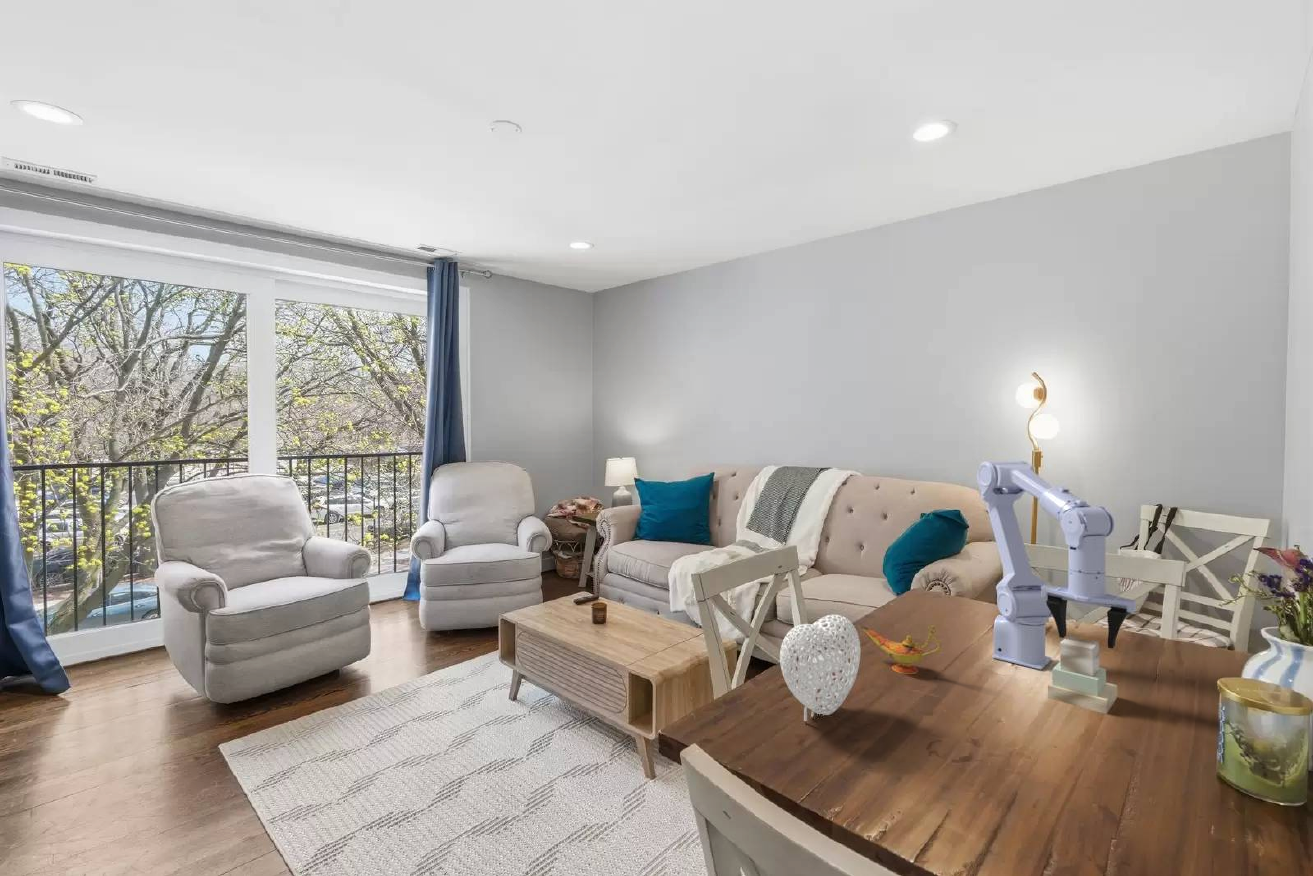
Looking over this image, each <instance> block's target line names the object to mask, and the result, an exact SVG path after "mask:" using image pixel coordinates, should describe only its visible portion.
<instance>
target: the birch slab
mask: <svg viewBox="0 0 1313 876" xmlns="http://www.w3.org/2000/svg"><path fill="white" fill-rule="evenodd" d="M1117 687H1118V685H1116V684H1113V683H1110V682H1109V683H1108V682H1106V685H1105V687H1104V688H1103V690H1102V691H1101V692H1100V694H1099V695H1098V697H1097V696H1094V695H1090V694H1086V693H1082V692H1078V691H1074V690H1071V689H1067V688H1063V687H1059V686H1055V685H1052V681H1051V682H1049V684H1048V685H1047V699H1051V700H1054V701H1058V702H1062V703H1066V704H1069V705H1073V706H1077V707H1078V708H1079V707H1080V708H1084V709H1087V710H1091V711H1094V712H1098V713H1102V714H1104V715H1108V713H1109V711H1110V710H1111V708H1112V706H1113V705H1114V703H1115V701H1116V700H1117V698H1118V693H1117V692H1118V691H1117V690H1118V688H1117Z"/></svg>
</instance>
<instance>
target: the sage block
mask: <svg viewBox="0 0 1313 876" xmlns="http://www.w3.org/2000/svg"><path fill="white" fill-rule="evenodd" d="M1051 672H1052V674H1051V675H1052V676H1051V677H1052V680H1051V682H1052V685H1055V686H1059V687H1063V688H1067V689H1071V690H1074V691H1078V692H1082V693H1086V694H1090V695H1094V696H1097V697H1098V695H1099V694H1100V692H1101V691H1102V690H1103V688H1104V687H1105V685H1106V683H1107V668H1103V667H1099V670H1098V671H1097V672H1096V673H1095V674H1094V675H1093V676H1089V675H1085V674H1081V673H1076V672H1072V671H1068V670H1063V669H1061V660H1060V661H1059V662H1058V663H1057V664H1056V665H1055V666H1054V667H1052V671H1051Z"/></svg>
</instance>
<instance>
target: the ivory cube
mask: <svg viewBox="0 0 1313 876" xmlns="http://www.w3.org/2000/svg"><path fill="white" fill-rule="evenodd" d="M1059 649H1060V650H1059V653H1060V656H1059V657H1060V661H1061V669H1063V670H1068V671H1072V672H1076V673H1081V674H1085V675H1089V676H1093V675H1094V674H1095V673H1096V672H1097V671H1098V670H1099V668H1100V643H1099V641H1095V640H1089V639H1085V638H1078V637H1074V636H1068V635H1066V636H1065V637H1064V638H1063V640H1061V641H1060V643H1059Z"/></svg>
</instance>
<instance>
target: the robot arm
mask: <svg viewBox="0 0 1313 876" xmlns="http://www.w3.org/2000/svg"><path fill="white" fill-rule="evenodd" d="M976 480H977V484H978V489H979V491H980V495H981V499H982V500H983V501H984V502H985V504H986V505H985V506H986V508H987V509H986V510H987V512H988V516H989V517H988V518H989V520H990V524H991V528H992V532H993V535H994V539H995V542H996V546H997V549H998V550H997V551H998V554H999V556H1000V560H1001V564H1002V569H1003V572H1004V577H1003V578H1002V579H1001V580H1000V581H999V582H998V583H997V585H996V586H995V590H996V596H997V597H996V603H997V604H996V605H997V608H998V611H999V612H1000V614H998V615H997V616H996V618H995V620H994V625H993V655H992V658H993V659H996V660H1000V661H1004V662H1007V663H1013V664H1017V665H1021V666H1025V667H1029V668H1033V669H1036V670H1043V669H1044V668H1045V667H1046V666H1047V665H1048V664H1049V663H1050V662H1051V661H1052V660H1053V659H1052V657H1051V656H1046V623H1050V622H1049V621H1050V619H1051V617H1053V620H1054V622H1055V624H1056V628H1057V633H1058V637H1059V638H1060V639H1065V638H1066V637H1067V607H1068V601H1069V602H1074V603H1080V604H1085V605H1091V606H1097V607H1104V608H1108V609H1109V610H1108V611H1107V612H1106V615H1107V628H1108V630H1107V631H1108V633H1107V648H1108V649H1114V648H1115V646H1116V641H1117V637H1118V634H1119V631H1120V628H1121V627H1122V625H1123V623H1124V621H1125V619H1126V618H1127V617H1128V615H1129V613H1132V614H1134V613H1135V612H1136V611H1137V607H1136V606H1137V604H1136V603H1137V600H1136V599H1131V598H1126V597H1125V598H1124V597H1121V596H1116V595H1113V594H1108V593H1106V544H1107V543H1106V541H1107V540H1106V537H1109V536H1110V535H1112V533H1113V532H1114V528H1115V527H1114V526H1115V521H1114V517H1113V515H1112V513H1111V512H1110V511H1109V509H1107V508H1106V507H1104V506H1102V505H1094V506H1093V505H1090V504H1089V503H1087V501H1086V500H1084V499H1081V498H1080V497H1078V496H1076V495H1075V494H1074V493H1072V492H1070V489H1069V488H1068V487H1067V486H1052V485H1050V484H1049V483H1048V482H1047V481H1046V480H1044V479H1043V478H1042V477H1041V476H1040V475H1038V474H1037V473H1036V472H1035V469H1034V466H1033V465H1032V464H1030V463H1028V462H1027V461H1026V460H1018V461H1016V460H1015V461H1012V460H1011V461H987V460H986V461H983V462H982V463H981V464H980V465H979V468H978V471H977V473H976ZM1025 492H1026V493H1028V494H1030V496H1033V497H1034V498H1035V499H1037V500H1039V505H1040V507H1041V509H1042V510H1043V511H1045V512H1046V513H1047V514H1049V515H1050V517H1051V516H1052V518H1054V519H1056V521H1058V522H1059V523H1060V527H1061V529H1062V531H1063V533H1064V542H1065V544H1066V545H1067V546H1068V560H1067V561H1068V562H1067V563H1068V565H1067V566H1068V575H1067V578H1068V579H1067V581H1068V582H1067V583H1068V584H1067V587H1064V586H1063V587H1060V586H1053V585H1047V582H1046V581H1045V580H1044V579H1042V578H1040V577H1039V576H1038V575H1036V574H1034V573H1033V571H1032V568H1031V564H1030V560H1029V557H1028V554H1027V551H1026V548H1025V547H1026V546H1025V543H1024V540H1023V537H1022V532H1021V528H1020V525H1019V522H1018V519H1017V516H1016V512H1015V509H1014V504H1015V502H1016V501H1018V500H1020V499H1021V498H1022V497H1023V495H1024V494H1025Z"/></svg>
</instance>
